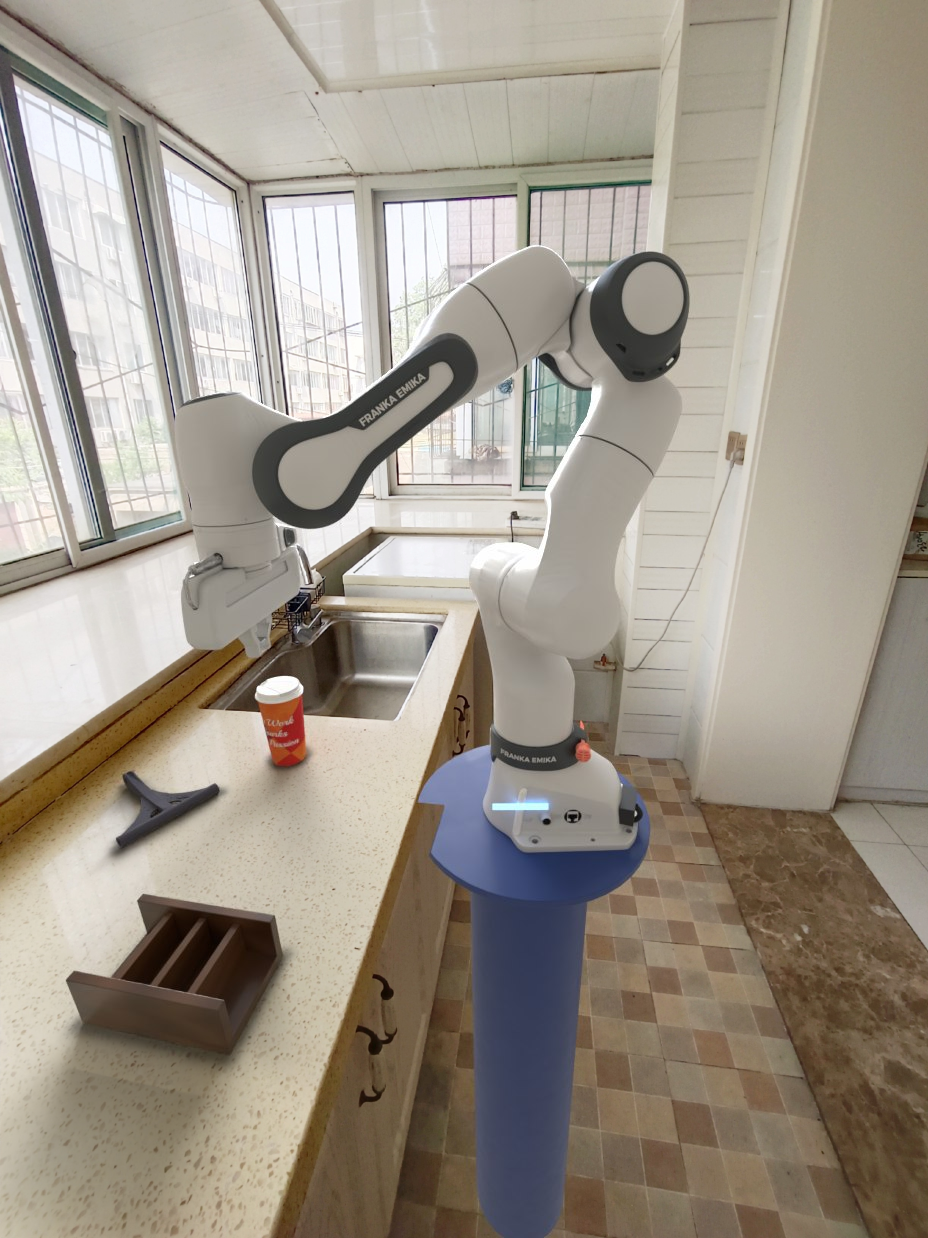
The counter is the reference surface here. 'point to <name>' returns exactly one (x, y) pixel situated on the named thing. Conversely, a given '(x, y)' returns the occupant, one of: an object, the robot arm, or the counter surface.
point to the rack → (185, 975)
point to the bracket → (158, 806)
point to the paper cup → (283, 718)
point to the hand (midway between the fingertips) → (259, 653)
